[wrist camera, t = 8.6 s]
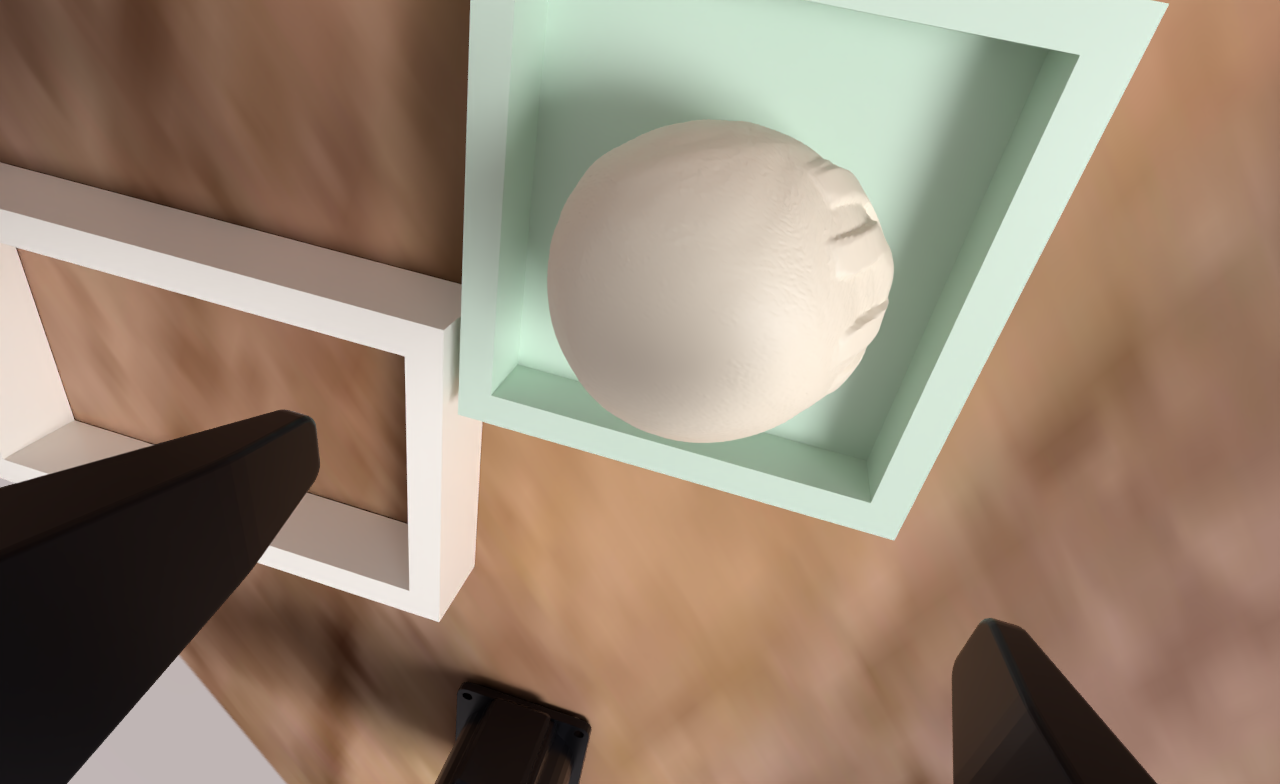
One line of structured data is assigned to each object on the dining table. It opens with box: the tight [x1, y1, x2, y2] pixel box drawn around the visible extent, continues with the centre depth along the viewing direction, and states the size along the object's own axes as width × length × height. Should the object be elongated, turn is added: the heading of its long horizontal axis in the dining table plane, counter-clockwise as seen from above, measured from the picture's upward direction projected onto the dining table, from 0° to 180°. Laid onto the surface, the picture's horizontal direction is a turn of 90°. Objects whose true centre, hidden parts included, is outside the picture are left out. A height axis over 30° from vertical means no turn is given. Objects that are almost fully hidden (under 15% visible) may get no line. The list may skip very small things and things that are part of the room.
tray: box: [458, 0, 1169, 540], centre depth 17 cm, size 13×13×3 cm
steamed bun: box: [547, 119, 894, 443], centre depth 15 cm, size 7×7×7 cm
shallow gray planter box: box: [0, 162, 482, 622], centre depth 24 cm, size 12×20×3 cm, turn 79°
